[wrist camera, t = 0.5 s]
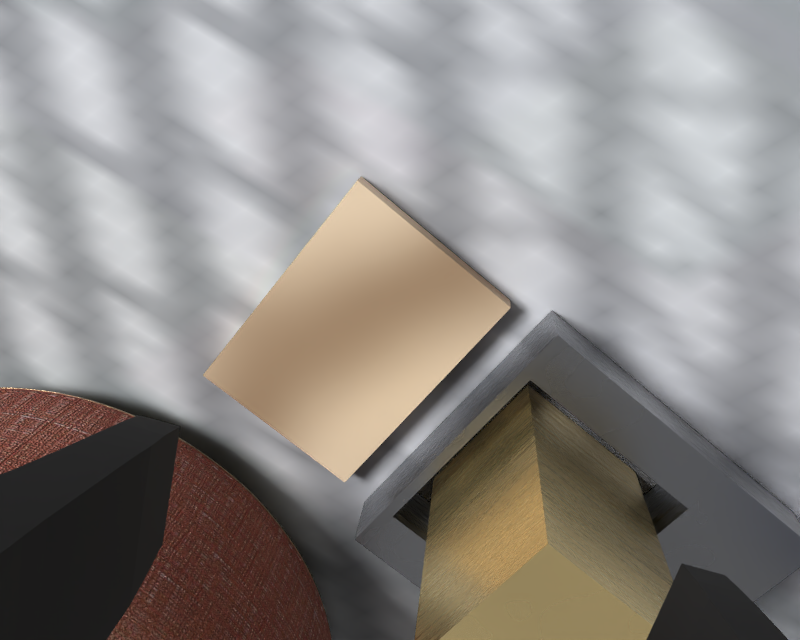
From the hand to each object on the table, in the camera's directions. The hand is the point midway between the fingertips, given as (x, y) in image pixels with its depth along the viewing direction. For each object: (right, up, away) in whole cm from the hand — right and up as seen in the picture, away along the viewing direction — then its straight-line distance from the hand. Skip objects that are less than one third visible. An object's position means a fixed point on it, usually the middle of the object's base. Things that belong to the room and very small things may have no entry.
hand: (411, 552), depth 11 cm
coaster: (-1, +3, +10) cm, 10 cm away
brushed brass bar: (+4, -1, +11) cm, 12 cm away
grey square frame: (+5, -2, +11) cm, 12 cm away
